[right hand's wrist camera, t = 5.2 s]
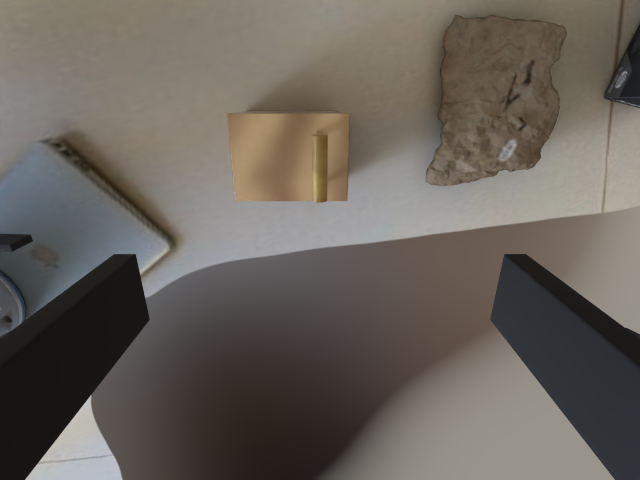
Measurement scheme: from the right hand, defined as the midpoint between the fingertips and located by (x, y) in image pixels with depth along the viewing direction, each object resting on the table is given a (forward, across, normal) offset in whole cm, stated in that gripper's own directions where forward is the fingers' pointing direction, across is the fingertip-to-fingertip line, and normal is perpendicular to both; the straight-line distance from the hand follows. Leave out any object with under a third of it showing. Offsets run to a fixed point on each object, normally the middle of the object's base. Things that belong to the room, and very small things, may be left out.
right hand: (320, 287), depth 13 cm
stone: (+41, +22, +6) cm, 47 cm away
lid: (+31, -4, 0) cm, 31 cm away
